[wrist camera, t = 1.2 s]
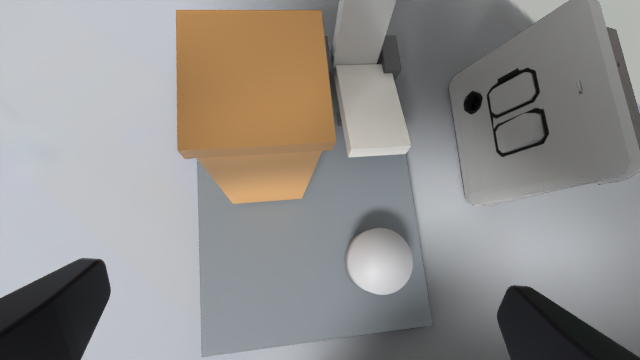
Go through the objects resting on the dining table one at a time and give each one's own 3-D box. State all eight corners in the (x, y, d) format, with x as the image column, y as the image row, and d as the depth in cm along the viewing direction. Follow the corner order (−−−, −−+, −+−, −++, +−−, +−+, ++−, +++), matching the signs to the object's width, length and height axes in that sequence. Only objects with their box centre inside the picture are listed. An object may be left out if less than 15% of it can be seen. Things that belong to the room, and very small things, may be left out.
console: (425, 322, 21) (449, 332, 18) (205, 352, 19) (192, 368, 16) (384, 58, 25) (399, 31, 22) (198, 61, 23) (186, 32, 20)
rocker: (405, 154, 20) (411, 145, 19) (348, 157, 20) (351, 148, 19) (385, 75, 23) (389, 64, 22) (333, 76, 22) (335, 65, 21)
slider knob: (305, 201, 20) (336, 141, 10) (229, 207, 20) (177, 150, 9) (299, 132, 21) (321, 10, 11) (226, 135, 21) (175, 9, 10)
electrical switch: (444, 81, 25) (555, -16, 16) (505, 85, 26) (639, -4, 17) (463, 208, 23) (601, 177, 14) (527, 206, 24) (692, 176, 15)
